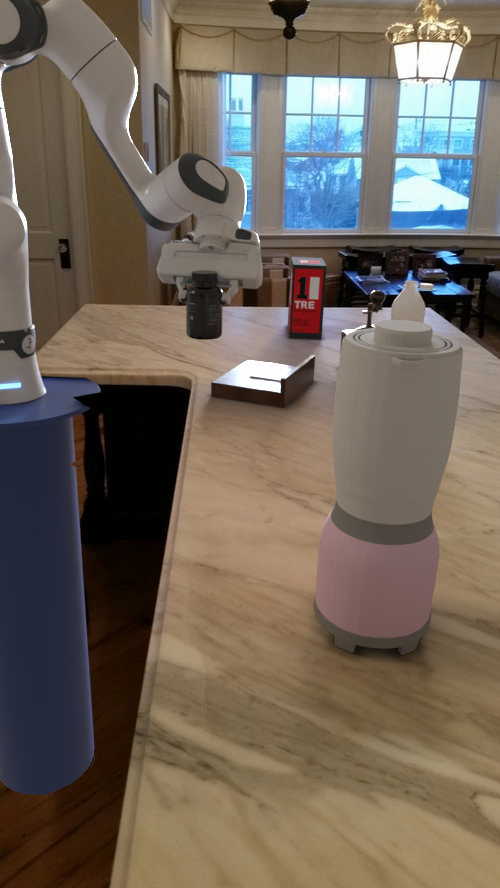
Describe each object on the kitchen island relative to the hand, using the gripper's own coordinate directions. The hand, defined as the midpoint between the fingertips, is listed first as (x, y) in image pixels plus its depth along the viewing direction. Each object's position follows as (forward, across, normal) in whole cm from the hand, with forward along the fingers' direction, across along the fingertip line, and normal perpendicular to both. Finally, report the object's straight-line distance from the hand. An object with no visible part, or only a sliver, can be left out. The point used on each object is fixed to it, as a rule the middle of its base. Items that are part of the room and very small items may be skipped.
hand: (203, 301), depth 132 cm
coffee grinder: (-10, +30, +39) cm, 51 cm away
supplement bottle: (+4, 0, +5) cm, 7 cm away
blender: (+59, +34, -30) cm, 74 cm away
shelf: (+4, +10, +25) cm, 27 cm away
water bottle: (+7, +39, +22) cm, 45 cm away
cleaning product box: (-36, +13, +65) cm, 75 cm away
